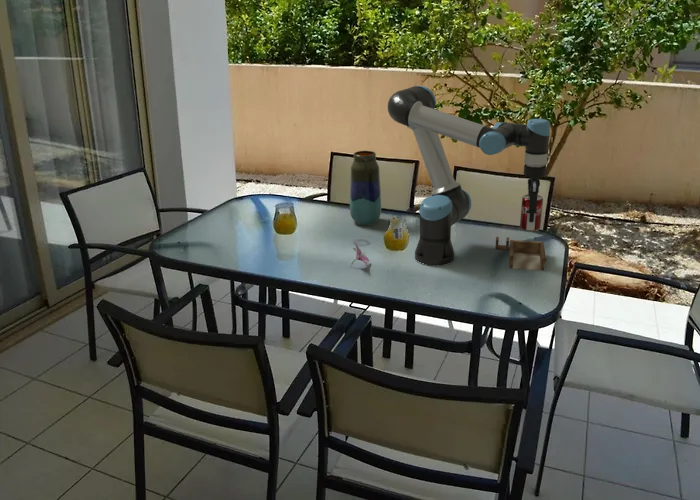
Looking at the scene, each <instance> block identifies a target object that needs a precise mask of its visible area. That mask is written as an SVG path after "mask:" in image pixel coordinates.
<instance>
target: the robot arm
mask: <svg viewBox="0 0 700 500" xmlns="http://www.w3.org/2000/svg"><path fill="white" fill-rule="evenodd" d="M436 105H437V100H436V96H435V94H434V93H433V91H432V89H430V88H428V87H426V86H424V85H414V86H411V87H408V88H404V89H401V90H398V91H396V92H394V93H393V94H392V95H391V96H390V97H389V99H388V102H387V111H388V114H389V117H390V118H391V119H392V120H393V121H394V122H395V123H396V122H397V123H398V124H400V125H403V126H406V127H407V128H408V129H410V130H412V132H413V136H414V137H415V141H416V144H417V145H418V146H417V147H418V149H419V151H420V154H421V157H422V160H423V163H424V165H425V169H426V171H427V173H428V174H427V175H428V177H429V180H430V182H431V185H432V188H433V189H432V191H431V195H430V196H427V197H425V198H423V200H422V201H421V202H420V207H419V240H418V242H417V245H416V248H415V250H414V259H415V261H416V260H417V261H416V262H418V261H419V262H421V263H420V264H422V263H424V264H423V265H425V264H427V265H426V266H431V265H436V266H435V267H438V266H439V267H440V266H445V265H449V264H451V263H453V262H454V261H455V258H456V257H455V256H456V255H455V254H456V253H455V249H454V246H453V243H452V239H451V237H452V235H451V234H452V226H453V225H455V224H457V223H458V222H460V221H462V220H463V219H464V218H465V217H466V216H467V215H468V214H469V213H470V211H471V210H472V209H471V208H472V198H471V196H470V194H469V193H468V192H467V191H466V190H464V189H463V188H462V186H461V183H460V182H458V181H456V180H455V179H454V175H453V172H452V168H451V167H450V163H449V161H448V158H447V155H446V153H445V149H444V147H443V143H442V141H441V139H440V135H441V136H444V137H447V138H450V139H452V140H456V141H459V142H462V143H465V144H468V145H470V146H474V147H477V148H479V149H480V150H481V152H482V153H484V155H486V156H487V155H488V156H493V155H497V154H500V153H501V152H502V151H504V150H505V149H507V148H509V147H511V146H515V147H516V146H518V147H525V150H524V165H523V175H524V176H525V177H527V195H528V194H529V195H530V196H529V210H528V211H526V213H528V216H527V228H526V230H534V228H535V217H536V212H537V211H536V207H537V195H539V192H540V187H541V186H540V185H541V184H540V183H541V181H540V179H539V178H543V177H545V176H546V174H547V162H548V159H549V158H550V155H548V151H549V143H550V135H551V131H550V130H551V122H550V121H549V120H548V119H545V118H531V119H529V120H527V124H523V123H521V124H520V123H513V122H507V121H504V122H501V121H500V122H499V121H498V122H496V123H494V125H493V126H492V127H489V126H486V125H484V124H481V123H478V122H474V121H471V120H468V119H465V118H462V117H460V116H456V115H453V114H450V113H447V112H443V111H441V110H439V109H435V108H436ZM419 262H418V263H419ZM437 265H438V266H437Z"/></svg>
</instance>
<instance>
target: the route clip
mask: <svg viewBox="0 0 700 500" xmlns="http://www.w3.org/2000/svg"><path fill="white" fill-rule="evenodd" d="M499 240H500V236H496V237H495V247H494V248H495V250H497V251H498V250H499V251H509V249H510V237H508V236H506V240H505V244H499Z"/></svg>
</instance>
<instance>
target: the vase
mask: <svg viewBox="0 0 700 500" xmlns="http://www.w3.org/2000/svg"><path fill="white" fill-rule="evenodd" d="M376 154H377V153H376V151H371V150H358V151H356V152H354V153H353V162H352V164H351V167H350V176H349V177H350V182H349V183H350V185H349V211H350V213H349V214H350V216H351V218H352V220H353V222H354V223H355V224H357V225H360V226H370V225H371V224H372V225H374V224H375V223H377V222H378V221H379V219H380V217H381V214H382V193H381V192H382V191H381V190H382V189H381V178H380V177H381V176H380V175H381V174H380V166H379V164H378V161H377V155H376Z"/></svg>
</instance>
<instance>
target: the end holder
mask: <svg viewBox="0 0 700 500" xmlns="http://www.w3.org/2000/svg"><path fill="white" fill-rule="evenodd" d="M508 252H509V253H508V255H509V256H508V257H509V259H508V269H509V270H525V271H536V272H537V271H538V272H545V269H546V260H547V256H546V255H547V254H546V250H545V242H544V241H532V240H514V239H509V250H508Z"/></svg>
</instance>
